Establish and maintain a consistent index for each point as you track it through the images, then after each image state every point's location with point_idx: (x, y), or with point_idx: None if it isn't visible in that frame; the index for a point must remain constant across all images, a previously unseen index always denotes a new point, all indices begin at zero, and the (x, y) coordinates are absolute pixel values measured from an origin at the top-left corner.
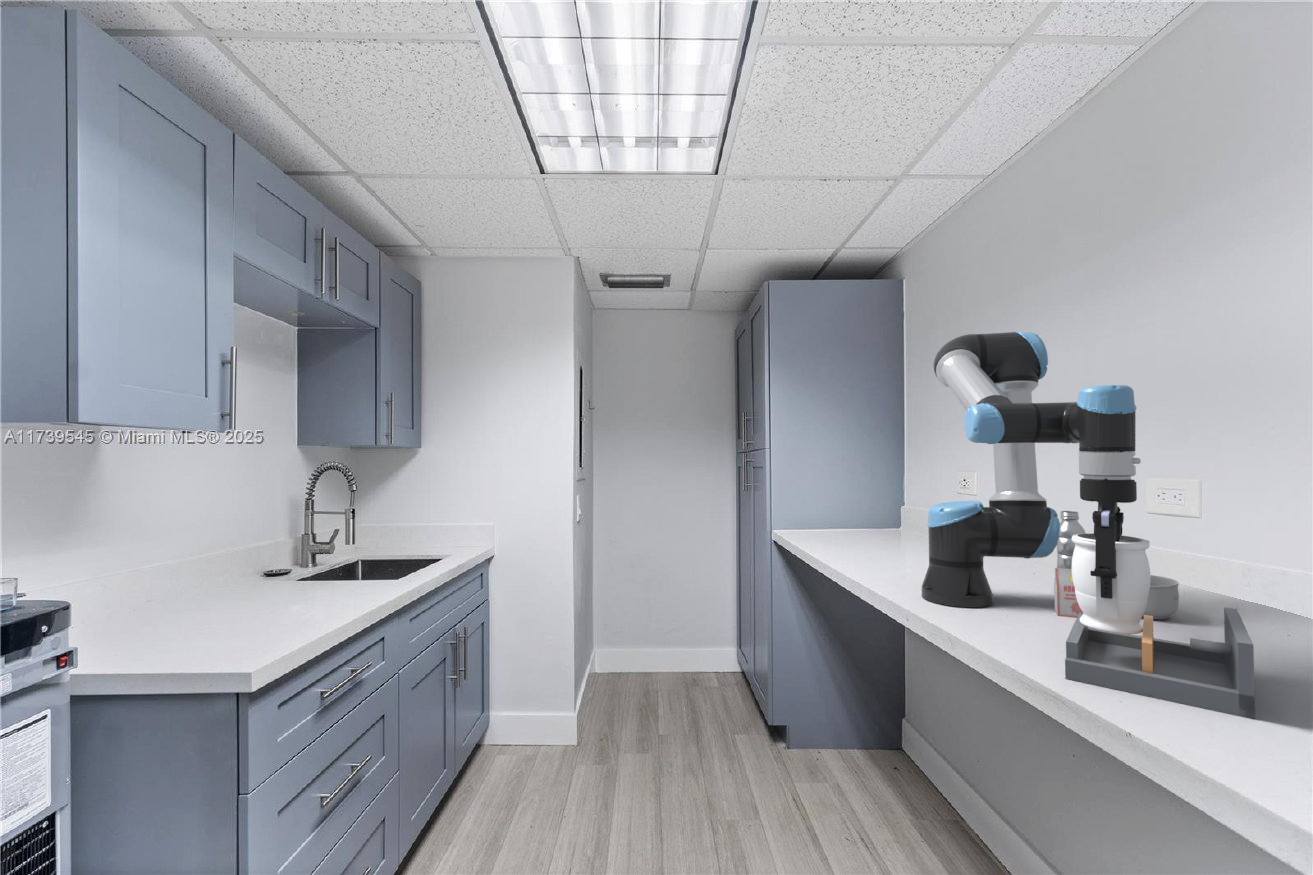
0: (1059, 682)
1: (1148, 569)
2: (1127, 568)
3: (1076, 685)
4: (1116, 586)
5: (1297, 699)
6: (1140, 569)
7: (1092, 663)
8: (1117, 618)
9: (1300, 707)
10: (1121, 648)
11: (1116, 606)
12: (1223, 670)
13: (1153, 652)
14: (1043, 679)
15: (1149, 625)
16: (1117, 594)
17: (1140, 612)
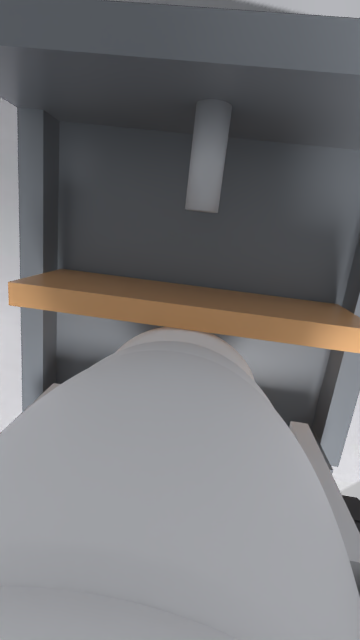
0: (351, 450)
1: (212, 436)
2: (353, 578)
3: (354, 424)
4: (353, 526)
5: (205, 4)
6: (307, 499)
7: (339, 420)
8: (307, 427)
9: (265, 11)
10: (75, 330)
11: (319, 456)
12: (117, 136)
13: (113, 277)
14: (348, 473)
15: (146, 308)
16: (339, 491)
17: (233, 362)
